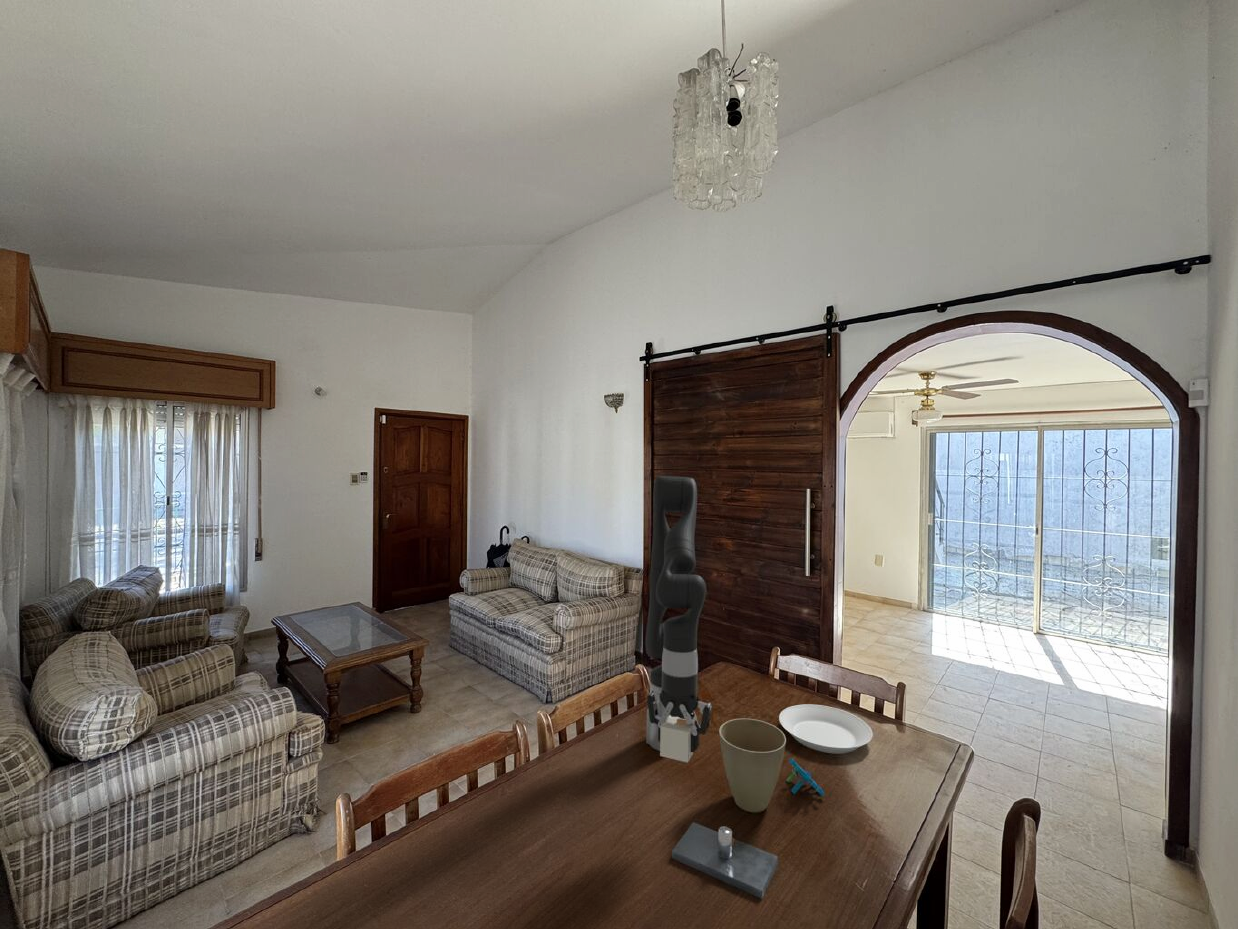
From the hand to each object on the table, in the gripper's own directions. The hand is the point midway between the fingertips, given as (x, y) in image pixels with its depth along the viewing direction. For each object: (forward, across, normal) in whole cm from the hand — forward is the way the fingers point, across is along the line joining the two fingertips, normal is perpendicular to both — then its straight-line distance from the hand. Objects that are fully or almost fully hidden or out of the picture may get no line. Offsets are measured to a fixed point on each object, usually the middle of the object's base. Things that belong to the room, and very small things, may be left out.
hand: (678, 746), depth 114 cm
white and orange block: (+1, 0, 0) cm, 1 cm away
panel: (+18, +11, -5) cm, 22 cm away
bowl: (+18, +27, +55) cm, 64 cm away
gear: (+18, +24, +26) cm, 39 cm away
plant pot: (+18, +13, +16) cm, 27 cm away
